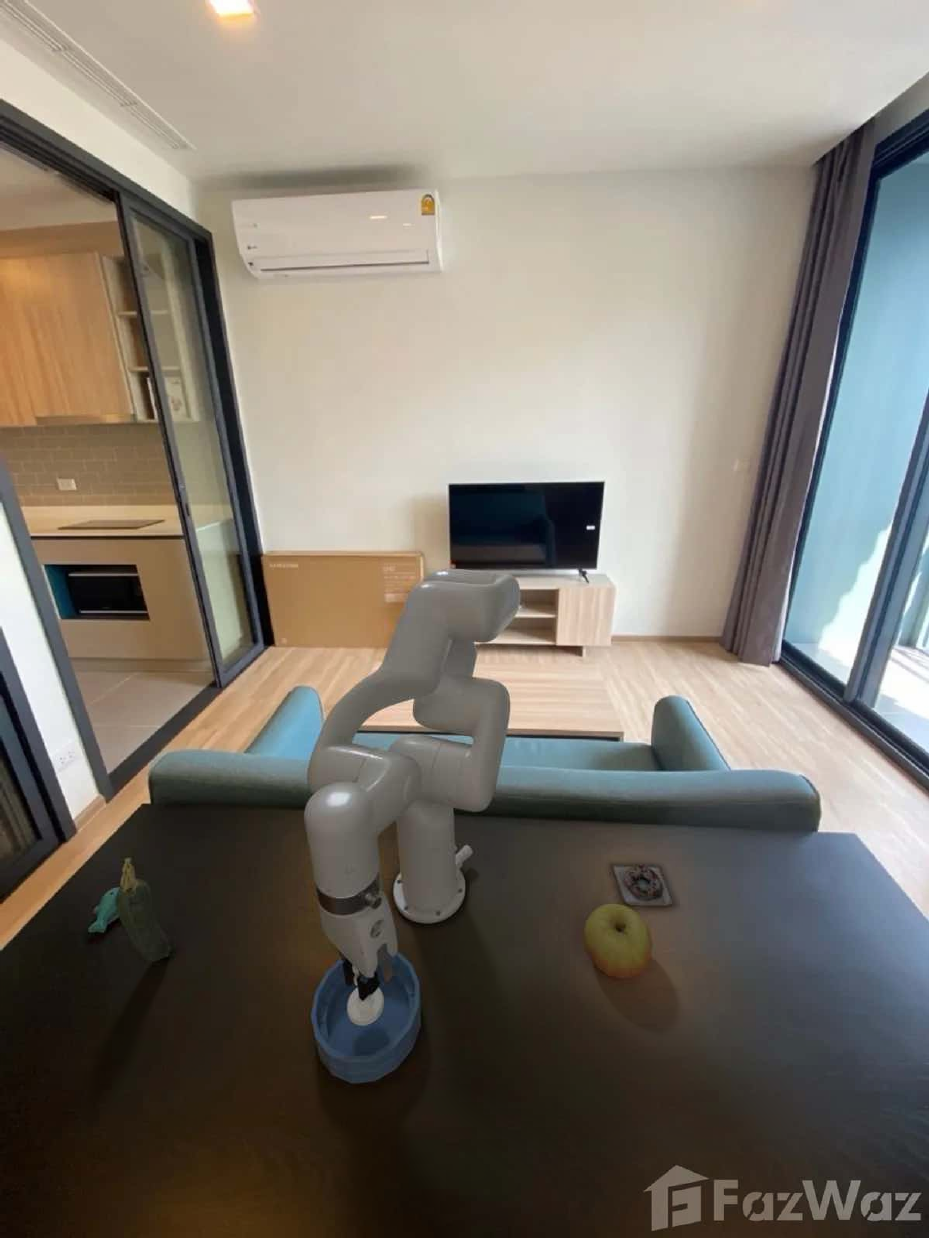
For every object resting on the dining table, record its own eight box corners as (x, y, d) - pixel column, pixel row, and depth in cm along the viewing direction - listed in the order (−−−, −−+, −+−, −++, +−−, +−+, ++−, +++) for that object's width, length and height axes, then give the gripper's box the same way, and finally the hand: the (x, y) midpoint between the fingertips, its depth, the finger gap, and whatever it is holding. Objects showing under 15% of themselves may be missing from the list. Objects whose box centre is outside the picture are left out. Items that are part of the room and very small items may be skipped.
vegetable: (158, 978, 75) (120, 881, 67) (133, 972, 76) (93, 876, 68) (179, 949, 79) (146, 855, 71) (155, 944, 80) (120, 850, 72)
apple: (639, 1004, 70) (645, 967, 67) (573, 968, 75) (576, 931, 72) (655, 946, 78) (661, 910, 75) (594, 916, 83) (598, 881, 80)
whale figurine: (143, 897, 88) (137, 881, 86) (113, 937, 81) (106, 921, 79) (112, 896, 88) (105, 880, 87) (79, 936, 81) (72, 919, 80)
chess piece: (390, 992, 69) (384, 943, 65) (373, 1031, 64) (366, 980, 61) (359, 981, 70) (351, 931, 66) (340, 1018, 66) (331, 967, 62)
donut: (623, 905, 84) (624, 896, 84) (612, 866, 92) (613, 858, 91) (673, 906, 84) (675, 897, 83) (658, 867, 91) (660, 859, 90)
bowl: (376, 949, 78) (373, 927, 76) (442, 1014, 69) (440, 991, 68) (296, 1028, 68) (290, 1005, 66) (361, 1115, 60) (357, 1091, 58)
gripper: (419, 897, 57) (426, 1001, 63) (335, 829, 66) (349, 926, 73) (367, 947, 51) (381, 1055, 58) (284, 865, 61) (304, 965, 68)
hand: (363, 982), depth 66 cm, fingers closed on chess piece
